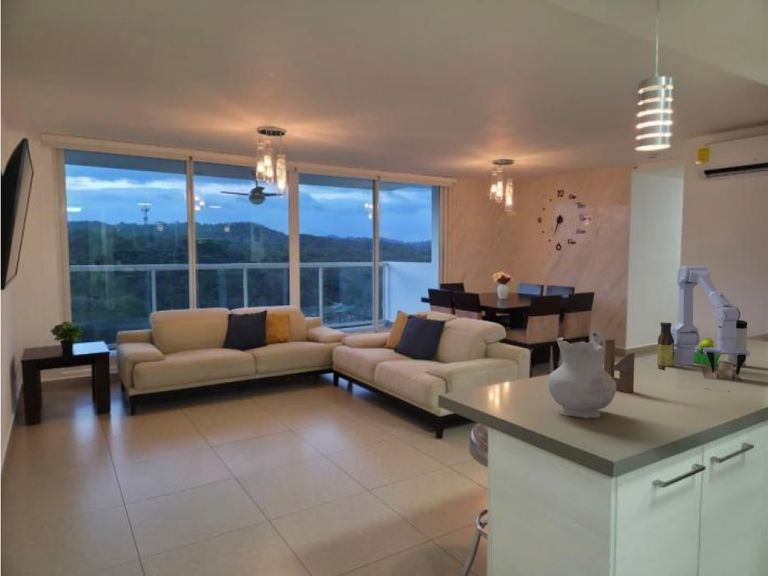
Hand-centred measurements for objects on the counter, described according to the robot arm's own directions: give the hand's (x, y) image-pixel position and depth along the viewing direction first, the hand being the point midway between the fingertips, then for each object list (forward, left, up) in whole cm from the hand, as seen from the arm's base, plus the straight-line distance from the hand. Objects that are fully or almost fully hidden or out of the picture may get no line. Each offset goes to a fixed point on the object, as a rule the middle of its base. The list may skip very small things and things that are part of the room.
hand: (725, 373), depth 191 cm
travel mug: (+7, +35, -3) cm, 36 cm away
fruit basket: (-5, +34, -3) cm, 35 cm away
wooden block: (-35, -31, -3) cm, 47 cm away
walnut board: (-1, +6, -3) cm, 7 cm away
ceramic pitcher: (-42, -65, -3) cm, 77 cm away
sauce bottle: (-20, +14, -3) cm, 25 cm away
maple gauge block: (0, 0, -2) cm, 2 cm away
